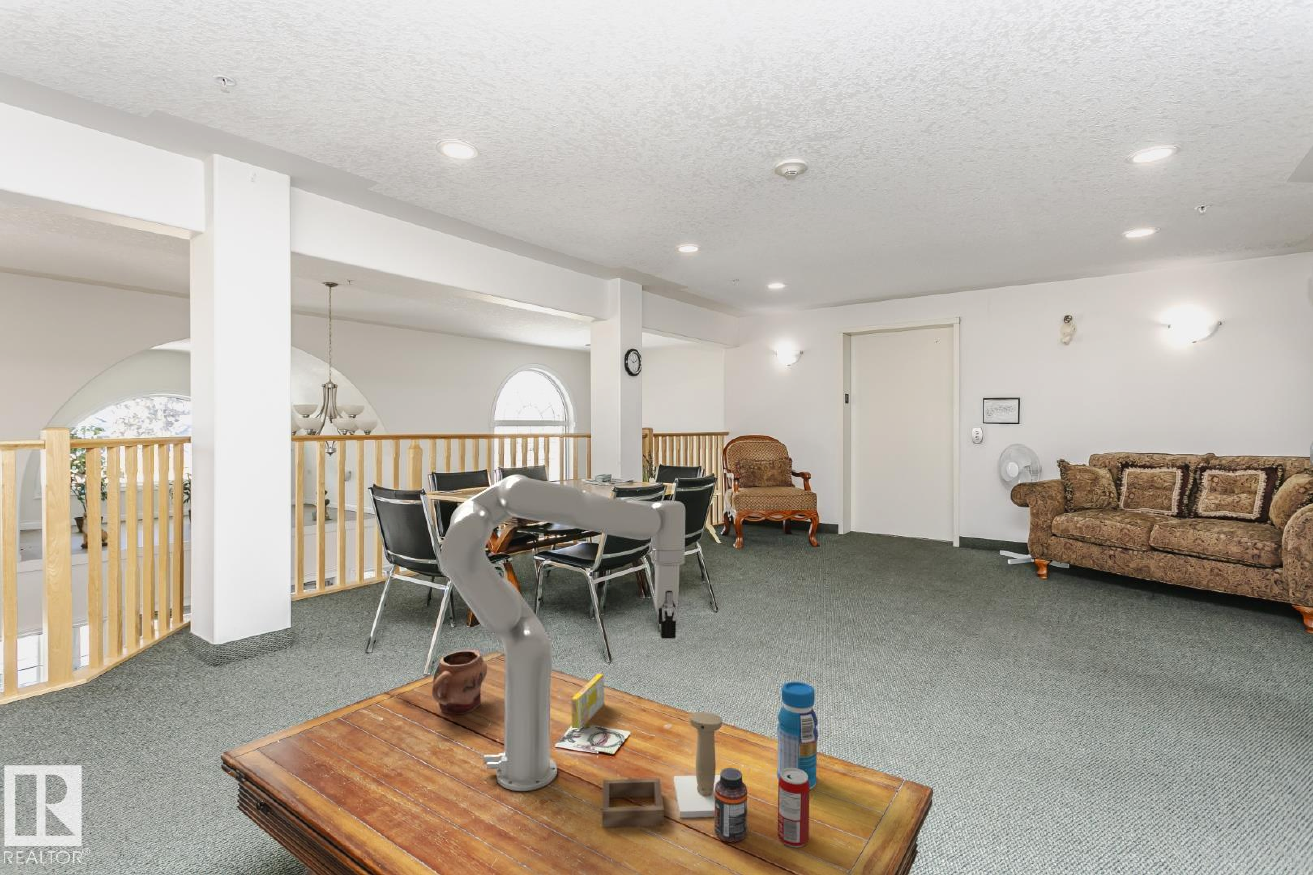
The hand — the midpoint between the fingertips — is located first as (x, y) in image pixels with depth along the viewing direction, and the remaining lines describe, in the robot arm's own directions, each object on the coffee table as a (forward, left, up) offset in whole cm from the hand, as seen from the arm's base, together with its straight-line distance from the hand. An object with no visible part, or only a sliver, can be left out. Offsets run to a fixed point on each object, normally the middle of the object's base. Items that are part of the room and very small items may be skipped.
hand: (666, 630), depth 143 cm
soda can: (+21, -30, -28) cm, 47 cm away
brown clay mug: (-52, +24, -28) cm, 64 cm away
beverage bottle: (+27, -12, -28) cm, 41 cm away
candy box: (-18, +19, -29) cm, 39 cm away
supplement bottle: (+10, -28, -28) cm, 41 cm away
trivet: (+7, -17, -28) cm, 34 cm away
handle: (+7, -17, -27) cm, 33 cm away
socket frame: (-8, -20, -28) cm, 36 cm away
